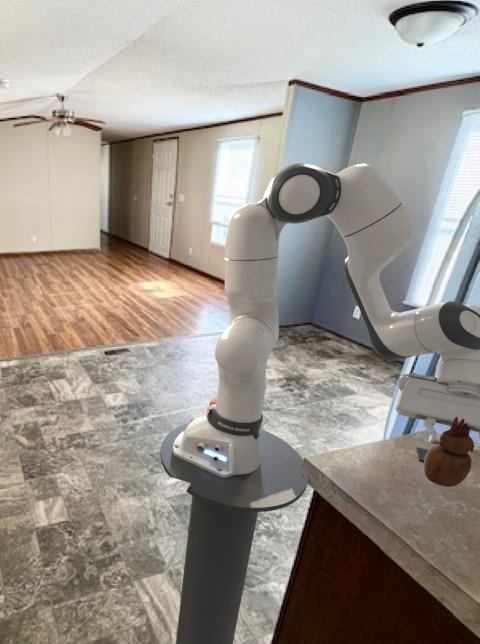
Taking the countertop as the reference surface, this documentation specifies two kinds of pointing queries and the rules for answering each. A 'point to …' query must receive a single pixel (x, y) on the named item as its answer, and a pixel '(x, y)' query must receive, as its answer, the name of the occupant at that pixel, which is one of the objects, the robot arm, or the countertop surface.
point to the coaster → (421, 453)
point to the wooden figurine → (450, 456)
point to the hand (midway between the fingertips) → (455, 448)
